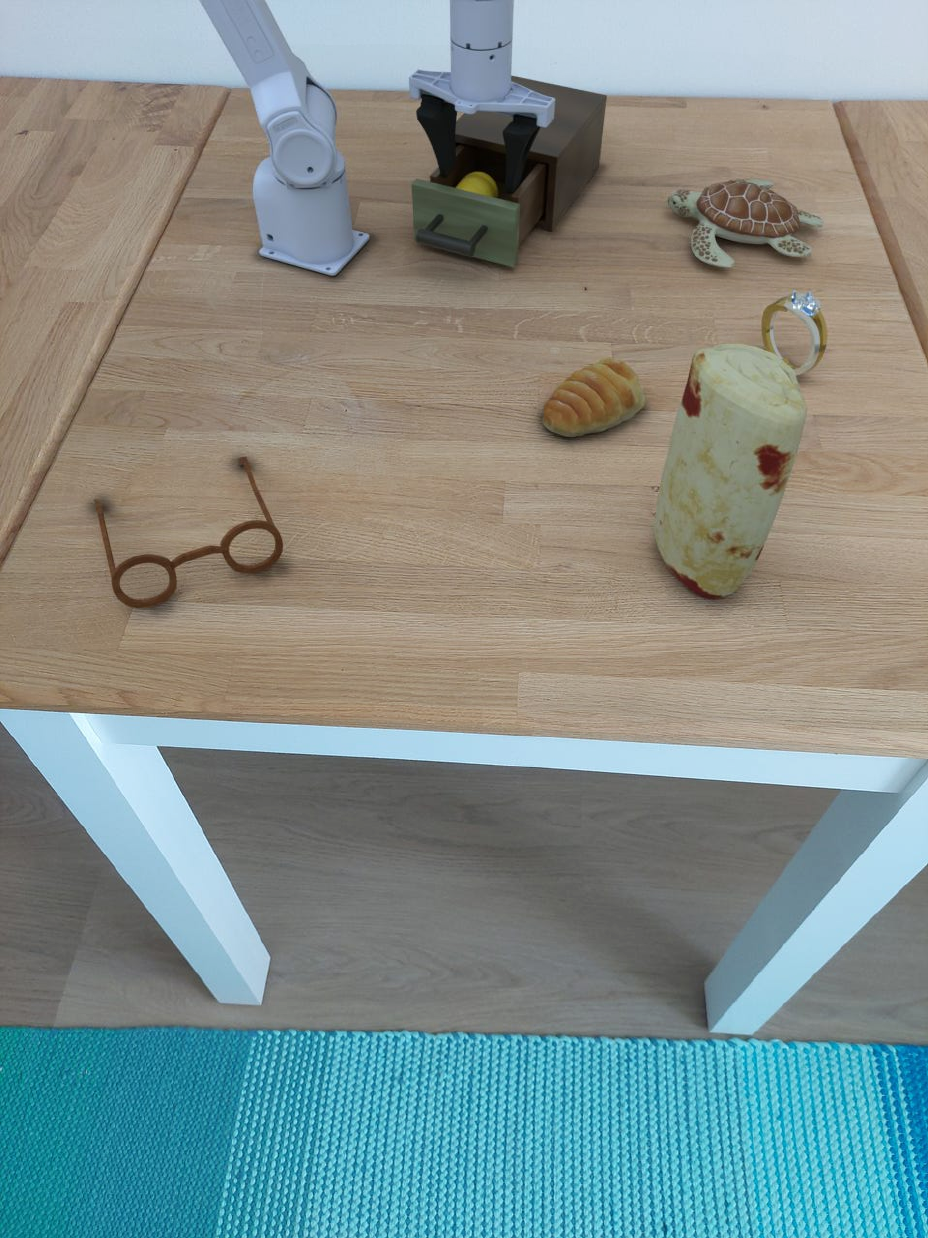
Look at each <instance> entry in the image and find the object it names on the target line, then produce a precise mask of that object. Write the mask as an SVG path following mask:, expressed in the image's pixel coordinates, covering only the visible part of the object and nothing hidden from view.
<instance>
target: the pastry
mask: <svg viewBox="0 0 928 1238" xmlns="http://www.w3.org/2000/svg"><path fill="white" fill-rule="evenodd" d="M645 405H646V397H645V395H644V389H643V387H642V385H641V384H640V380H639V376H638V374H637V373H636V372H635V370H633V368H632V366H630V365H628V364H627V363H626V362H625V361H623V360H621V359H615V358H612V357H606V358H603V359H600V360H599V361H597V362H596V363H594V364H590V365H588V366H587V365H586V366H584V367H583V368H581V369H580V370H579V369H578V370H577V371H575V372H573V373H572V374H571V375H569V376H568V377H566V379H565V380H564V381H563V382H562V383H560V384H559V385H558V387H557V388H556V389H555V390H554V391H553V393H552V395H551V396H550V397H549V399H548V400H547V401H546V402H545V404H544V405H543V417H542V425H543V426H544V427H545V428H546V429H547V430H549V431H550V432H552V433H554V434H557V435H560V436H562V437H565V438H575V437H584V436H585V435H587V434H588V435H589V434H598V433H601V432H602V433H603V432H605V431H606V430H608V429H609V430H610V429H612V428H614V427H616V426H618V425H620V424H621V423H623V422H625V421H628V420H630V419H632V418H633V417H634V416H635V415H636V414H637V413H639V412H640V411H641V410H642V409H643V408H644V407H645Z"/></svg>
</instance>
